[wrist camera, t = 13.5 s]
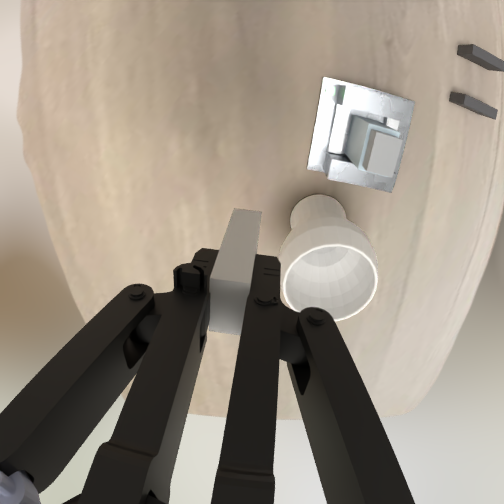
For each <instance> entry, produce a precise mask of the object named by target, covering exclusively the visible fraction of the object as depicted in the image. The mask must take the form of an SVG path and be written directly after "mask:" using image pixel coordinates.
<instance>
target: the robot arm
mask: <svg viewBox="0 0 504 504" xmlns="http://www.w3.org/2000/svg"><path fill="white" fill-rule="evenodd" d="M261 214H262V212H260V211H252V210H244V209H235V208H234V210H233V213H232V216H231V219H230V221H229V224H228V227H227V230H226V233H225V236H224V238H223V241H222V244H221V247H220V250H214V249H206V248H202V249H200V250H199V251H198V252H196V253H195V255H194V257H193V260H192V262H191V263H186V264H181V265H179V266H177V267H176V268H175V269H174V270H173V274H174V289H173V291H171V292H167V293H155V294H154V292H153V290H152V288H151V287H149V286H148V285H145V284H133V285H129V286H127V287H126V288H124V289H123V290H122V291H121V292H120V293H119V294H118V295H117V296H116V297H114V298H113V299H112V300H111V301H110V302H109V303H108V304H107V305H106V306H105V307H104V308H103V309H102V310H101V311H100V312H99V313H98V314H97V315H95V316H94V317H93V318H92V319H91V320H90V321H89V322H88V323H87V324H86V325H85V326H84V327H83V328H82V329H81V330H80V331H79V332H78V333H77V334H76V335H75V336H74V337H73V338H72V339H71V340H70V341H69V342H68V343H67V344H66V345H65V346H64V347H63V348H62V349H61V350H60V351H59V352H58V353H57V354H56V355H55V356H54V357H53V358H52V359H51V360H50V361H49V362H48V363H47V364H46V365H45V366H44V367H43V368H42V369H41V370H40V371H39V372H38V374H37V375H36V376H35V377H34V378H33V379H32V380H31V381H30V382H29V383H28V384H27V385H26V386H25V388H23V389H22V390H21V392H20V393H19V394H18V395H17V396H16V397H15V398H14V399H13V400H12V401H11V402H10V404H9V405H8V406H7V407H6V408H5V409H4V410H3V411H2V412H1V414H0V504H41V503H40V499H39V493H41V492H42V491H44V490H45V489H46V488H47V487H48V486H49V485H51V484H52V482H54V481H55V479H56V478H57V477H58V476H59V474H60V473H61V472H62V471H63V470H64V468H65V467H66V466H67V464H68V463H69V461H70V460H71V459H72V457H73V456H74V455H75V453H76V452H77V451H78V449H79V448H80V447H81V445H82V444H83V443H84V442H85V440H86V439H87V437H88V436H89V435H90V434H91V432H92V431H93V430H94V428H95V427H96V426H97V424H98V423H99V422H100V420H101V419H102V418H103V416H104V415H105V414H106V412H107V411H108V410H109V408H110V407H111V406H112V405H113V403H114V402H115V401H116V399H117V398H118V397H119V395H120V394H121V393H122V392H123V390H124V389H125V388H126V386H127V385H128V384H129V382H130V381H131V380H132V379H133V377H134V376H135V375H136V376H135V379H134V381H133V383H132V386H131V388H130V391H129V393H128V396H127V398H126V401H125V403H124V406H123V408H122V411H121V413H120V416H119V419H118V421H117V424H116V426H115V429H114V432H113V434H112V437H111V439H110V440H109V441H108V442H105V443H103V444H102V445H101V446H100V447H99V448H98V451H97V453H96V455H95V457H94V460H93V463H92V465H91V468H90V471H89V474H88V476H87V479H86V482H85V485H84V488H83V490H82V493H81V494H79V495H77V496H75V497H73V498H72V499H70V500H68V501H66V502H64V503H63V504H169V498H170V483H171V478H172V474H173V470H174V465H175V462H176V458H177V454H178V449H179V445H180V441H181V437H182V433H183V429H184V425H185V421H186V417H187V413H188V410H189V406H190V402H191V398H192V394H193V390H194V386H195V382H196V378H197V375H198V371H199V367H200V363H201V359H202V355H203V352H204V348H205V344H206V340H207V328H208V325H209V331H214V332H220V333H227V334H234V335H241V336H240V342H239V348H238V354H237V360H236V366H235V372H234V378H233V384H232V389H231V395H230V401H229V407H228V413H227V419H226V425H225V430H224V437H223V443H222V448H221V454H220V460H219V465H218V469H217V473H216V477H215V483H214V488H213V494H212V500H211V504H274V493H275V477H274V475H273V462H274V448H275V432H276V416H277V397H278V378H279V359H281V360H284V361H286V362H287V367H288V370H289V374H290V377H291V380H292V384H293V387H294V391H295V394H296V398H297V401H298V405H299V408H300V411H301V415H302V418H303V422H304V425H305V429H306V432H307V435H308V439H309V442H310V446H311V449H312V453H313V456H314V460H315V463H316V466H317V470H318V473H319V477H320V481H321V484H322V487H323V491H324V494H325V498H326V501H327V504H415V503H414V500H413V497H412V495H411V492H410V490H409V488H408V485H407V482H406V480H405V477H404V475H403V472H402V470H401V468H400V465H399V463H398V461H397V458H396V456H395V453H394V451H393V449H392V446H391V444H390V442H389V439H388V437H387V435H386V432H385V430H384V428H383V425H382V423H381V421H380V418H379V416H378V414H377V412H376V409H375V407H374V405H373V403H372V400H371V398H370V396H369V394H368V392H367V389H366V387H365V385H364V383H363V381H362V378H361V376H360V374H359V372H358V370H357V368H356V365H355V363H354V361H353V359H352V357H351V355H350V353H349V350H348V348H347V346H346V344H345V342H344V340H343V338H342V336H341V334H340V332H339V329H338V327H337V325H336V323H335V321H334V319H333V317H332V316H331V315H330V313H329V312H327V311H326V310H324V309H321V308H318V307H308V308H305V309H303V310H301V312H297V311H294V310H292V309H290V308H288V307H286V306H285V305H284V304H283V303H282V301H281V299H280V276H281V263H280V261H279V260H278V258H277V257H274V256H266V255H258V254H257V247H258V239H259V230H260V222H261ZM136 373H137V374H136Z"/></svg>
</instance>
